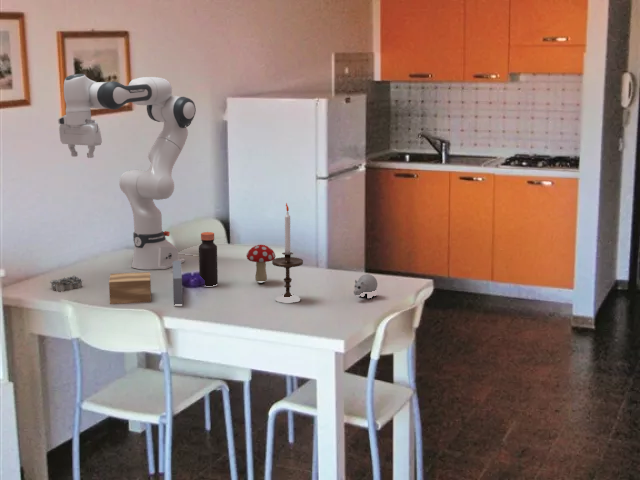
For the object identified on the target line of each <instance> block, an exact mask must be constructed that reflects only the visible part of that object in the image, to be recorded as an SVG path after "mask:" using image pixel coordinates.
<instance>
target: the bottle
mask: <svg viewBox="0 0 640 480" xmlns="http://www.w3.org/2000/svg"><path fill="white" fill-rule="evenodd" d="M200 241H201V243H200V244H199V246H198V269H199V273H198V274H199V275H200V276H201V277H202V278H203V279H204V280H205V285H206V286H213V285H216V284H219V282H218V281H219V280H218V279H219V278H218V274H219V273H218V246H217V245H216V244H215V242H214V241H215V233H214V232H212V231H211V232H210V231H207V232H205V231H203V232H201V233H200Z"/></svg>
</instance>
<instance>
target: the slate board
mask: <svg viewBox="0 0 640 480" xmlns="http://www.w3.org/2000/svg"><path fill="white" fill-rule="evenodd" d="M182 276H183V273H182V263H181V261H173V266H172V286H173V287H172V289H173V290H172V291H173V306H174V305H175V304H183V277H182ZM183 305H184V304H183Z"/></svg>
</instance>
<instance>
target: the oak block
mask: <svg viewBox="0 0 640 480" xmlns="http://www.w3.org/2000/svg"><path fill="white" fill-rule="evenodd" d="M109 275H110V276H109V279H108V280H109V281H108V285H109V286H108V289H109V304H110V305H115V304H138V303H151V302H152V290H151V289H152V284H151V283H152V282H151V271H148V272H147V271H146V272H145V271H144V272H123V273H122V272H119V273H118V272H117V273H110V274H109Z"/></svg>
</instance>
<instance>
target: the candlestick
mask: <svg viewBox="0 0 640 480" xmlns="http://www.w3.org/2000/svg"><path fill="white" fill-rule="evenodd" d="M285 207H286V208H285V209H286V214H285V215H284V252H282V253H281V254H282V255H284V256H283V257H275V259H273V260H272V261H271V264H272V265H273V266H276V267H279V268H284V269H285V277H284V278H283V282H284V283H285V285H284V286H283V287H284V288H285V293H284V297H290V296H292V295H291V294H292V293H291V292H290V291H291V290H290V289H291V288H292V285H291V282H292V280H293V279H292V278H291V276H290V275H291V272H290V271H291V270H290V269H291V268H295V267H297V268H298V267H300V266H303V264H304V259H302V258H299V257H294V256H292V255H294V252H291V215H290V214H289V209H290V208H289V206H288V203H287V202H286V203H285Z"/></svg>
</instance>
